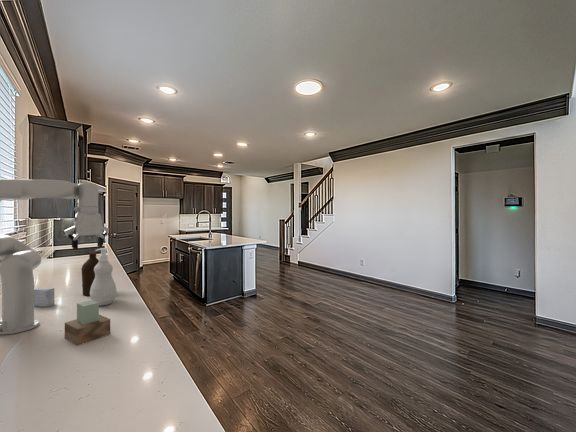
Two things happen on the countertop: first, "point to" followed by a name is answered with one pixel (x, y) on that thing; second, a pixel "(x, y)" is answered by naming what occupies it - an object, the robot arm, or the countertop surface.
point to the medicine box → (44, 297)
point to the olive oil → (88, 273)
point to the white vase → (103, 281)
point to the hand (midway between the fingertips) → (88, 247)
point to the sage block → (87, 312)
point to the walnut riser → (86, 330)
